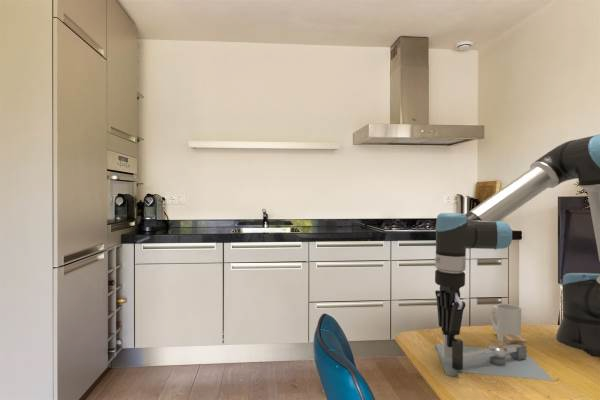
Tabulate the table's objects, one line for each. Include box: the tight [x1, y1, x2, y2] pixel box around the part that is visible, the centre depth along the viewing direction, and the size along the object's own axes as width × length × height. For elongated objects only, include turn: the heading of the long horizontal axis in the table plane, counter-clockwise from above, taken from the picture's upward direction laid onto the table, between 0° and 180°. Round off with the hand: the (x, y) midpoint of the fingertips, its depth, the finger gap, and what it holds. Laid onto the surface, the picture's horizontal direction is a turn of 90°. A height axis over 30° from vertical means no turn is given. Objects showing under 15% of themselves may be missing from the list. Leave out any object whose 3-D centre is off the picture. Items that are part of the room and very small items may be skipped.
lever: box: [452, 338, 526, 370], centre depth 99 cm, size 25×4×7 cm, turn 111°
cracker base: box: [434, 343, 555, 382], centre depth 101 cm, size 25×18×3 cm
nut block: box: [502, 334, 528, 357], centre depth 106 cm, size 4×4×4 cm
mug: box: [489, 303, 522, 343], centre depth 118 cm, size 10×7×12 cm, turn 21°
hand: (448, 357), depth 99 cm, fingers closed
